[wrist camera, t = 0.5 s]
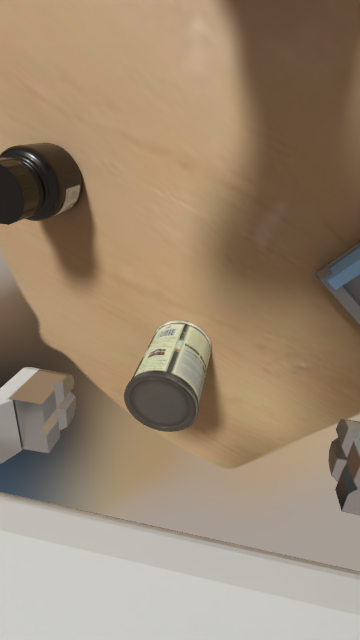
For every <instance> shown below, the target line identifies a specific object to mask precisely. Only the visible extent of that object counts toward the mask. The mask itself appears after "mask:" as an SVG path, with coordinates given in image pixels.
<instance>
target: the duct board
mask: <svg viewBox="0 0 360 640" xmlns="http://www.w3.org/2000/svg"><path fill="white" fill-rule="evenodd" d="M316 276H317V277H318V278H319V279H320V281H321V282H322V283H323V284H324V285H325V287H326V288H327V289H328V290H329V291H330V292H331V293H332V294H333V296H334V297H335V298H336V299H337V300H338V301H339V302H340V303H341V304H342V306H343V307H344V308H345V309H346V310H347V311H348V312H349V313H350V315H351V316H352V317H353V318H354V319H355V320H356V321H357V322H358V323H359V325H360V242H358V243H357V244H356V245H354V246H353V247H351V248H350V249H349V250H347V251H346V252H344V253H343V254H342V255H340V256H339V257H337V258H336V259H335V260H333V261H332V262H330V263H329V264H328V265H326V266H325V267H323V268H322V269H321V270H319V271H318V272H316Z"/></svg>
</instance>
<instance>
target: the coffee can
mask: <svg viewBox="0 0 360 640" xmlns="http://www.w3.org/2000/svg"><path fill="white" fill-rule="evenodd" d="M211 351H212V346H211V342H210V339H209V337H208V336H207V334H206V333H205V332H204V331H203V330H202V329H201V328H199V327H198V326H196V325H194V324H193V323H190V322H187V321H181V320H178V321H170V322H167V323H165V324H163V325H162V326H160V327H159V328H158V329H157V331H156V332H155V334H154V337H153V339H152V341H151V343H150V345H149V347H148V349H147V351H146V352H145V354H144V356H143V358H142V360H141V362H140V364H139V366H138V368H137V370H136V372H135V374H134V376H133V378H132V380H131V381H130V382H129V383H128V385H127V387H126V389H125V392H124V400H125V404H126V406H127V408H128V410H129V412H130V413H131V414H132V415H133V416H134V417H135V418H136V419H137V420H138V421H139V422H141V423H142V424H144V425H146V426H148V427H150V428H153V429H156V430H160V431H168V432H172V431H179V430H183V429H185V428H187V427H189V426H190V425H191V424H192V423H193V422H194V421H195V419H196V418H197V415H198V409H199V402H200V397H201V393H202V389H203V384H204V380H205V376H206V371H207V367H208V363H209V358H210V356H211Z"/></svg>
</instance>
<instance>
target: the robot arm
mask: <svg viewBox="0 0 360 640" xmlns="http://www.w3.org/2000/svg"><path fill="white" fill-rule="evenodd" d="M73 387H74V381H73V377H72V376H71V375H70V374H65V373H59V372H54V371H49V370H43V369H42V370H41V369H37V368H31V367H26V368H23V369H22V370H21V371H20V372H19V373H17V374H16V375H15V376H14V377H13V378H12V379H11V380H9V381H8V382H7V383H6V384H5V385H4V386H3V387H2V388H1V389H0V464H1V463H3V462H4V461H6V460H7V459H9V458H10V457H12V456H14V455H15V454H17V453H18V452H20V451H21V450H22V449H27V450H33V451H39V452H45V453H49V452H50V451H51V449H52V448H53V446H54V445H55V443H56V442H57V441H58V439H59V437H60V430H61V429H63V428H65V427H67V426H68V425H69V423H70V422H71V420H72V417H73V415H74V412H75V406H76V400H75V396H74V395H73V394H72V392H71V389H72V388H73ZM336 431H337V434H338V438H337V439H335V440H334V441H332V443H331V447H330V450H329V467H330V472H331V475H332V476H333V477H334V478H335V480H336V481H337V482H338V484H337V486H336V489H335V490H336V493H337V497H338V499H339V504H340V507H341V511H343V512H347V513H351V514H356V515H360V422H358V421H351V420H345V419H341V420H340V422H339V423H338V426H337V428H336ZM0 640H360V571H355V570H351V569H346V568H342V567H337V566H332V565H328V564H324V563H319V562H315V561H310V560H305V559H301V558H296V557H292V556H287V555H283V554H278V553H274V552H269V551H264V550H260V549H255V548H251V547H247V546H242V545H238V544H233V543H228V542H224V541H219V540H215V539H210V538H206V537H201V536H197V535H192V534H188V533H183V532H178V531H174V530H169V529H165V528H160V527H156V526H151V525H147V524H142V523H137V522H133V521H128V520H124V519H120V518H115V517H111V516H106V515H102V514H97V513H92V512H88V511H83V510H79V509H74V508H69V507H65V506H60V505H56V504H51V503H47V502H42V501H38V500H33V499H29V498H24V497H20V496H15V495H11V494H6V493H1V492H0Z"/></svg>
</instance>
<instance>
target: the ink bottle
mask: <svg viewBox="0 0 360 640" xmlns="http://www.w3.org/2000/svg"><path fill="white" fill-rule="evenodd" d="M81 193H82V179H81V174H80V171H79V169H78V166H77V164H76V163H75V161H74V159H73V158H72V157H71V155H70V154H69V153H68V152H67V151H66V150H64V149H63V148H61V147H60V146H57V145H55V144H51V143H38V144H28V145H18V146H13V147H10V148H8V149H6V150H5V151H4V152H2V153H1V155H0V223H1V224H7V225H9V224H12V223H14V222H17V221H19V220H22V219H27V220H32V221H41V220H45V219H48V218H50V217H53V216H55V215H57V214H60V213H62V212H64V211H66V210H68V209H70V208H72V207H73V206H74V205H75V204H76V203H77V202H78V201H79V199H80V196H81Z"/></svg>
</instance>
